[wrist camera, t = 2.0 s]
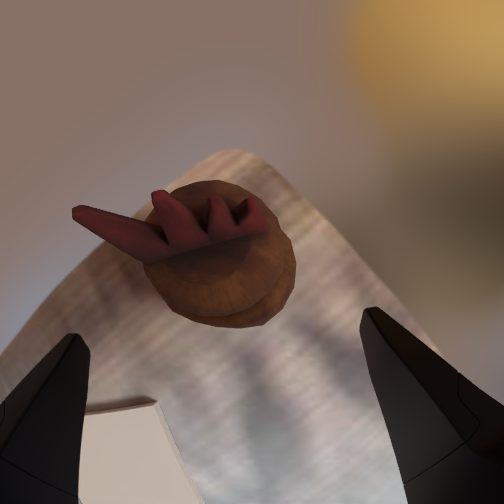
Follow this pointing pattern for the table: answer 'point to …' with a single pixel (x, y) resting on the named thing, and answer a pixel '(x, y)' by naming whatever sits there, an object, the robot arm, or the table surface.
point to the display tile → (132, 459)
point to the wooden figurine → (207, 252)
